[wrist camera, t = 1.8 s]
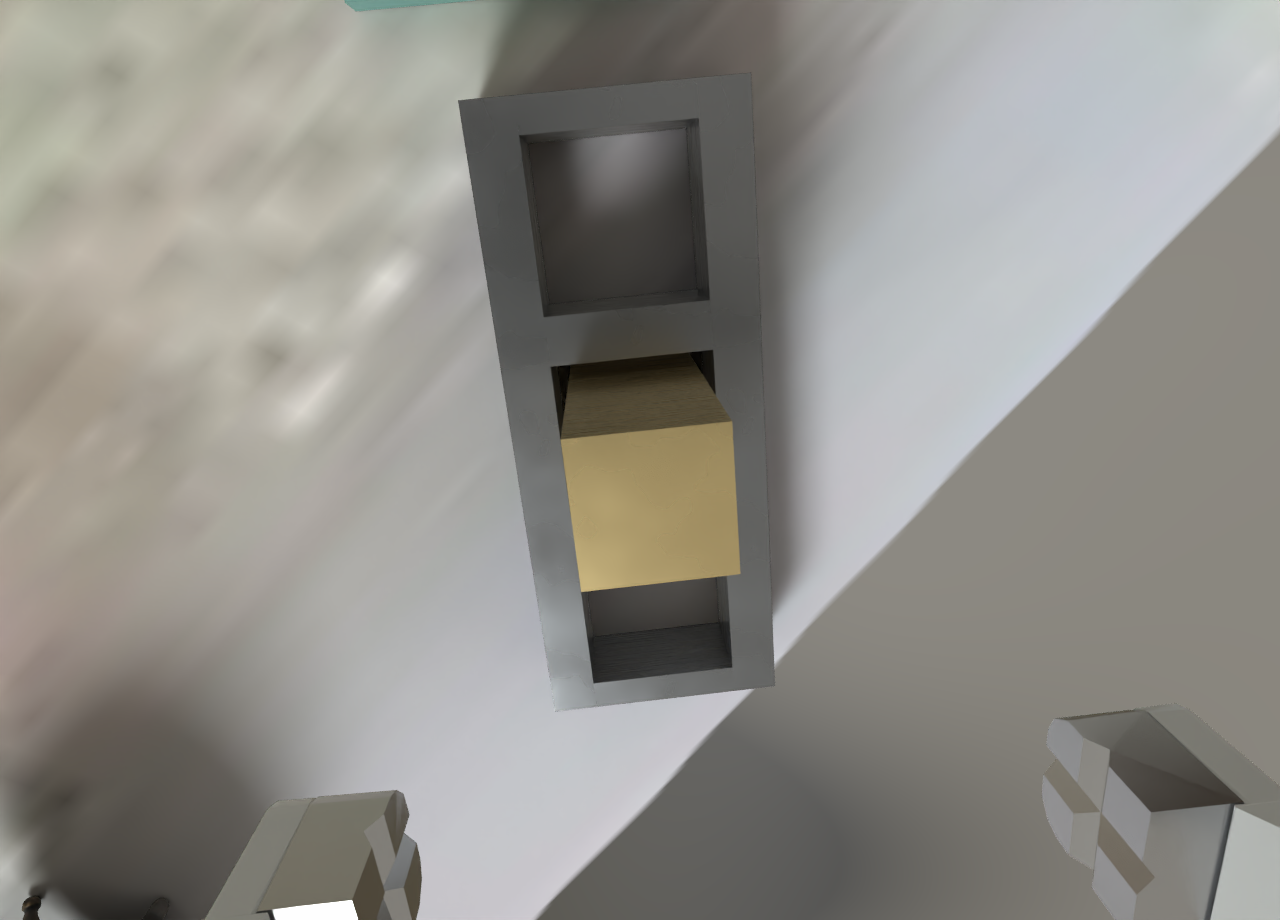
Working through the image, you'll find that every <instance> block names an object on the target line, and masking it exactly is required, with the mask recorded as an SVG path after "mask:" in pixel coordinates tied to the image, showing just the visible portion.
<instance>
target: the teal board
mask: <svg viewBox="0 0 1280 920" xmlns="http://www.w3.org/2000/svg"><path fill="white" fill-rule="evenodd" d="M463 1H474V0H345V3H346V4H347V5H349V6H350V7H351V8H352V9H354V10H355V11H364V10H375V9H386V8H397V7H408V6H419V5H430V4H441V3H452V2H463Z"/></svg>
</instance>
